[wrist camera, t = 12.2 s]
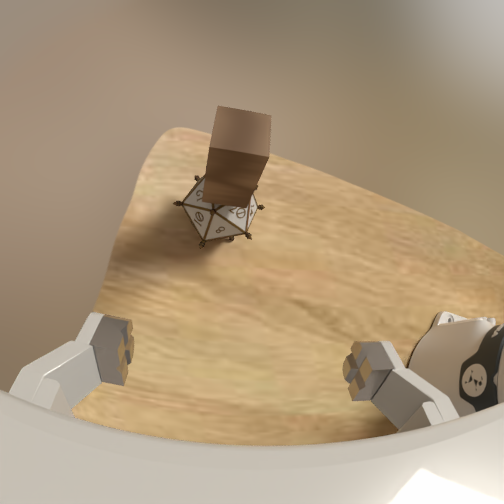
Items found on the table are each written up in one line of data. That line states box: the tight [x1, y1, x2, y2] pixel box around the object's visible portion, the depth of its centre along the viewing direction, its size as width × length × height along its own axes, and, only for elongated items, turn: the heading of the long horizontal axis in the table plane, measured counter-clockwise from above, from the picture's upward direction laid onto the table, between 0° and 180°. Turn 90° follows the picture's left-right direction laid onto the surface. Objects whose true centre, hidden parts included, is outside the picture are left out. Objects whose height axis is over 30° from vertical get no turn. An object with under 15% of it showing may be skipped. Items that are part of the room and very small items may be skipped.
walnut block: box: [202, 106, 271, 208], centre depth 24 cm, size 4×4×8 cm
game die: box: [173, 166, 265, 249], centre depth 31 cm, size 9×8×10 cm
